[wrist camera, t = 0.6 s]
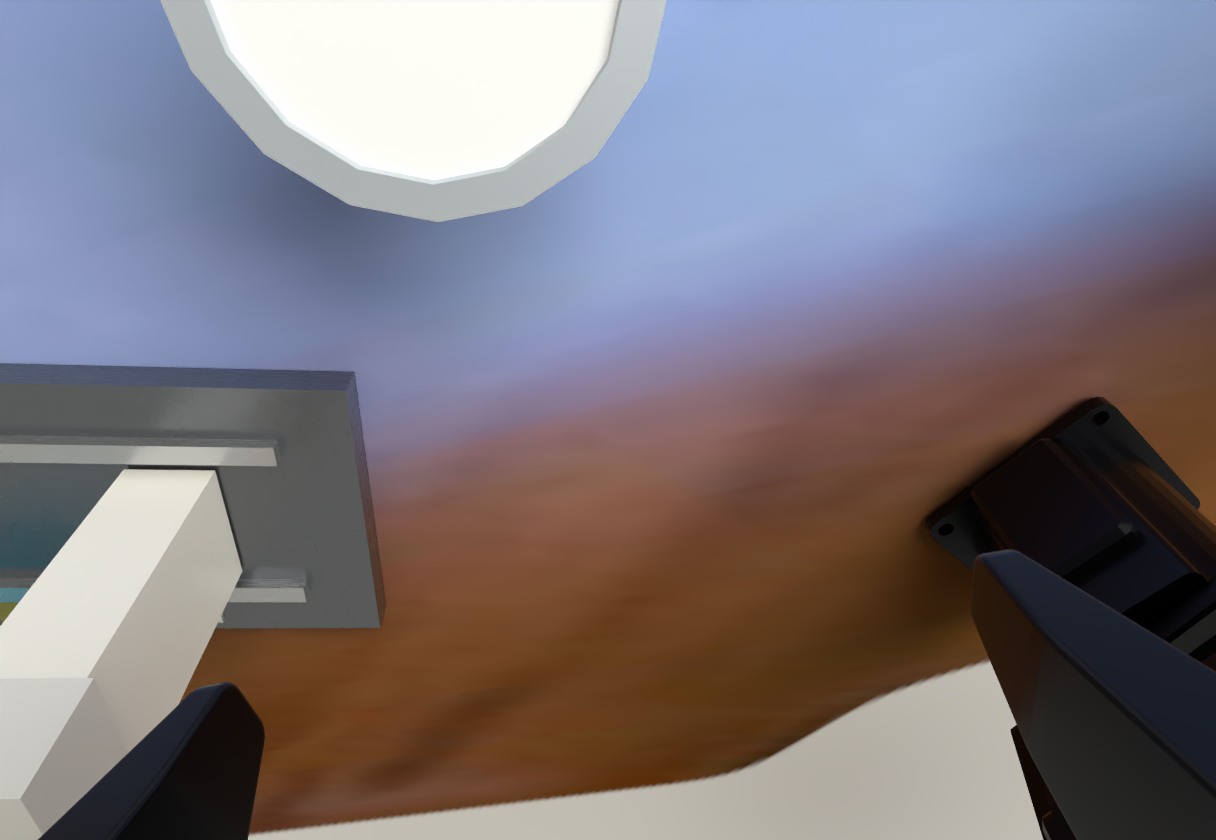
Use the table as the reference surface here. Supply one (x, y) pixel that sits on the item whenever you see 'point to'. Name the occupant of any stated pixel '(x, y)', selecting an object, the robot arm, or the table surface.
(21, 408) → the console
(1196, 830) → the robot arm
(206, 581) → the fader tab
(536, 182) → the white cylinder
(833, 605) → the table surface
